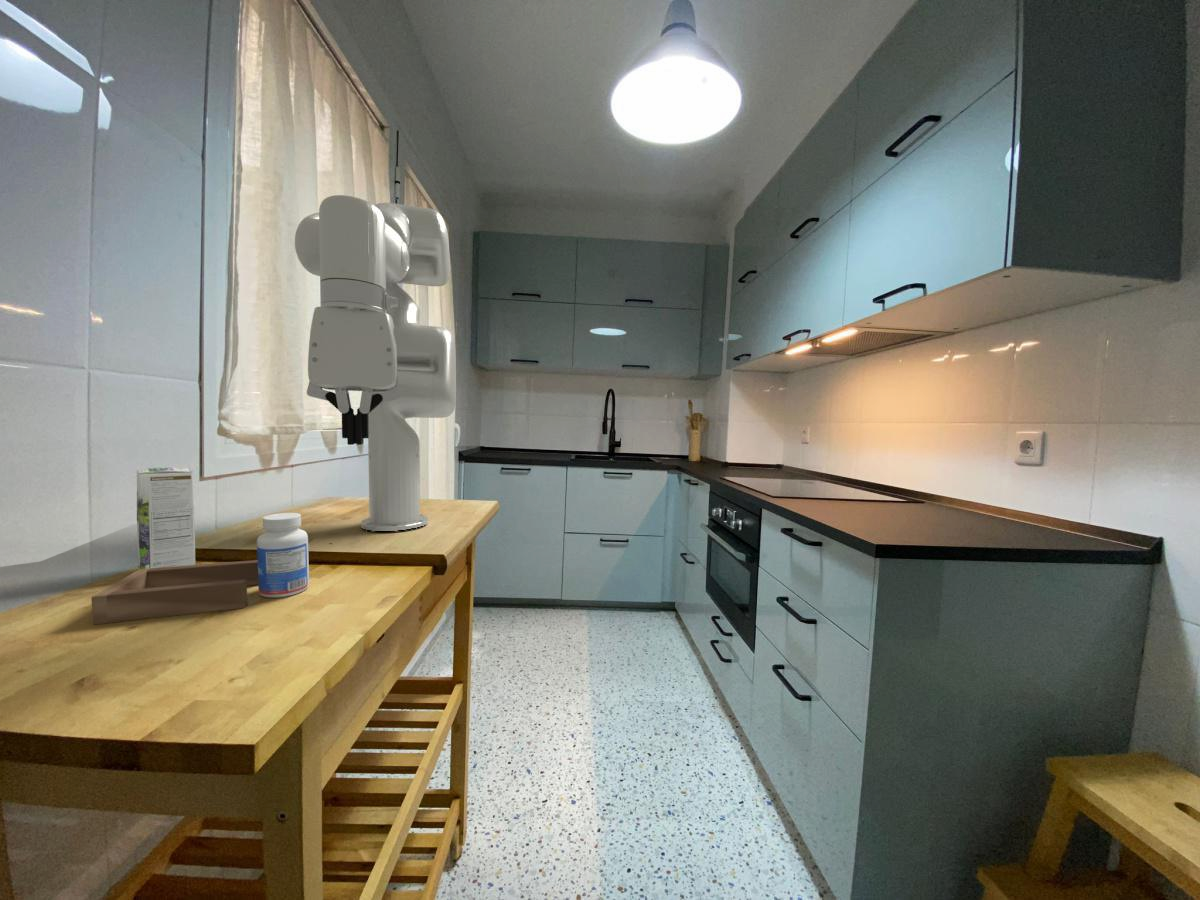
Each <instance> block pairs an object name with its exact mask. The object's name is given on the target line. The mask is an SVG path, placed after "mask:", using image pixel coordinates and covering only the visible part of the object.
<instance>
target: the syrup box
mask: <svg viewBox="0 0 1200 900" xmlns="http://www.w3.org/2000/svg"><path fill="white" fill-rule="evenodd" d="M194 489H195V487H194V472H193V470H191V469H190V468H188V467H168V466H167V467H151V468H142V469H137V470H136V530H137V553H138V556H137V557H138V570H139V569H150V568H163V567H175V566H188V565H196V540H195V539H196V529H195V528H196V527H195V491H194Z"/></svg>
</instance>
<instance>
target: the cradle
mask: <svg viewBox="0 0 1200 900" xmlns="http://www.w3.org/2000/svg"><path fill="white" fill-rule="evenodd" d="M248 586H258V560H257V559H253V560H240V561H229V562H217V563H205V564H204V563H203V564H201V563H200V564H195V565H188V566H175V567H163V568H150V569H139V568H138V570H136V571H134V572H132V573H131V574H129V575H127V576H126V577H124V578H122V579H120V580H118V581H117V582H115V583H113V584H111V585H110V586H108V587H106V588H105V589H102V590H100V591H99V592H97V593H95V594H94V595H93V596H91V598H90V599H91V614H92V616H91V617H92V625H101V624H102V625H103V624H110V623H118V622H128V621H136V620H146V619H147V620H148V619H155V618H163V617H173V616H182V615H192V614H200V613H210V612H218V611H227V610H236V609H244V608H246V606H247V605H248Z"/></svg>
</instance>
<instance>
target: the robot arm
mask: <svg viewBox="0 0 1200 900" xmlns="http://www.w3.org/2000/svg"><path fill="white" fill-rule="evenodd" d="M318 210H319V212H314V213H312V214H309V215H308V216H305V217H304V218H303V219H302V220H301V221H300V222H299V223H298V225H297V228H296V231H295V235H294V247H295V253H296V256H297V258H298V261H299V263H300V265H301V266H302V267H303V268H304V270H306V271H307V272H308V273H310V274H312V275H315V276H317V277H319V290H320V291H319V296H320V297H319V300H320V303H319V304H320V306H316V307H314V310H313V314H312V320H311V325H310V332H309V341H308V342H309V343H308V352H307V354H308V357H307V374H308V380H309V381H308V384H307V389H306V395H307V396H308V397H312V398H315V399H320V400H324V401H328V402H329V403H330V404H331V405H332V406H333V407H334V408H335V409H336V410H338V412H339V413H341V439H347V440H346V441H347V445H348V446H353V445H358V446H362V445H364V443H365V442H364V439H368V442H367V445H368V446H367V448H368V455H367V456H368V503H369V504H368V507H369V509H368V512H369V514H368V515H369V517H366V518H364V519H363V520H361V521H360V528H361V529H362V528H363V529H362V530H364V529H366V530H365V531H367V530H371V531H370V532H375V531H395V530H404V529H411V528H416V529H418V528H417V527H420V526H423V527H424V525H425V526H426V525H428V523H429V518H428V516H427V515H424V514H421V468H420V467H421V464H420V462H421V460H420V459H421V458H420V456H421V454H420V447H421V446H420V439H419V436H418V434H417V432H416V431H415V430H414V429H413V427H411V425H410V424H409V423H408V422H407V420H406V419H411V418H419V419H420V418H421V419H423V418H425V419H433V418H434V419H440V418H441V419H442V418H447V417H450V416H451V415H452V414H453V413H454V411H455V407H456V402H457V401H456V399H457V398H456V397H457V382H456V381H457V367H456V366H457V360H456V359H457V352H456V344H455V339H454V336H453V334H452V333H451V332H450V330H449V329H446V328H445V327H442V326H435V325H434V326H433V325H422V324H421V325H420V320H421V319H420V317H421V312H420V308H419V306H418V304H417V303H416V302H415V300H414V299H413V297H412V296H410V294H409V293H408V292H407V291H405V289H403V288H402V287H401V286H399V285H398V284H403V285H404V284H406V285H416V286H427V287H443V286H445V285H446V284H448V282H449V280H450V278H451V277H450V276H451V256H450V243H449V240H450V239H449V234H448V230H447V229H448V227H447V226H446V222H445V219H444V218H443V217H442V215H441V214H440V213H439V212H438V211H437V210H436V209H433V208H429V207H422V206H415V205H407V204H400V203H394V202H379V203H376V204H373V203H372V202H370V201H367V200H365V199H363V198H359V197H355V196H351V195H343V194H336V195H330V196H327V197H325V198H324V199H323V200H322V201H321V202H320V205H319V208H318ZM329 390H330V391H329ZM331 390H332V391H331ZM333 391H334V392H333ZM349 391H353V392H361V396H360V401H359V402H360V403H359V407H358V408H357V410H356V414H355V411H354V409H353V407H352V404H351V399H350V393H349ZM420 528H421V527H420ZM411 530H412V529H411ZM395 532H396V531H395Z"/></svg>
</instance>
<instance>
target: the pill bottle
mask: <svg viewBox="0 0 1200 900" xmlns="http://www.w3.org/2000/svg"><path fill="white" fill-rule="evenodd" d="M301 526H302V516H301V514H300V513H298V512H280V513H274V514H273V513H272V514H269V515H265V516H263V517H262V528H263V530H264V533H262V534H260V535H259V536H258V537H257V539H256V558H257V559H256V560H258V585H257V586H258V593H259V595H260V596H261V597H264V598H269V599H270V598H276V599H277V598H286V597H291V596H293V595H296V594H300V593H302V592H305V590H307V589H308V588H309V587H310V565H309V561H310V560H309V535H308V533H307V532H306V531H305V530H303V529H300V527H301Z"/></svg>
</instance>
